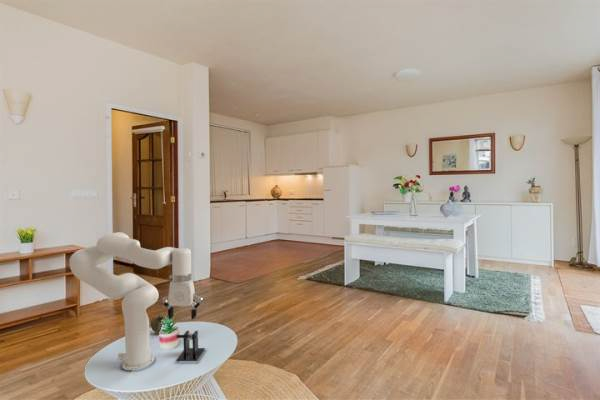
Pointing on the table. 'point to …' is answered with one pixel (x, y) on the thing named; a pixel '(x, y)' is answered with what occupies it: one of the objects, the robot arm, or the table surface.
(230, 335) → the table surface
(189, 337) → the lever
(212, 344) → the table surface
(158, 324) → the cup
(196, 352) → the bracket
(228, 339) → the table surface
